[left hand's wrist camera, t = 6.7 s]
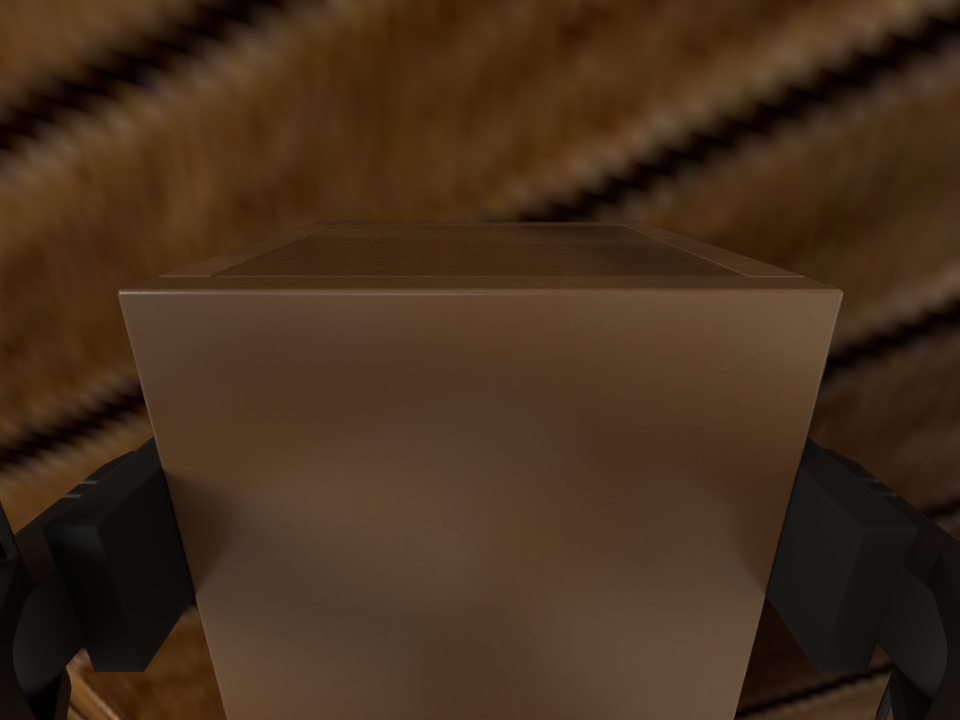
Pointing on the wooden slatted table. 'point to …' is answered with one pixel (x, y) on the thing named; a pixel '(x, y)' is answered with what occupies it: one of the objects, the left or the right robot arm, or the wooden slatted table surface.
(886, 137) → the wooden slatted table surface
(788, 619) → the left robot arm
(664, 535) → the cabinet
